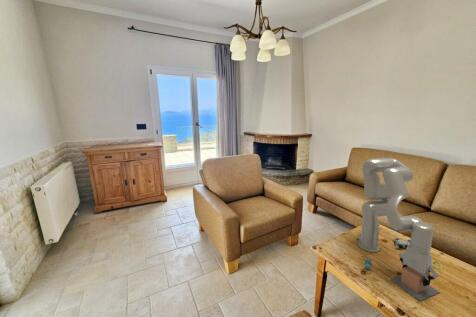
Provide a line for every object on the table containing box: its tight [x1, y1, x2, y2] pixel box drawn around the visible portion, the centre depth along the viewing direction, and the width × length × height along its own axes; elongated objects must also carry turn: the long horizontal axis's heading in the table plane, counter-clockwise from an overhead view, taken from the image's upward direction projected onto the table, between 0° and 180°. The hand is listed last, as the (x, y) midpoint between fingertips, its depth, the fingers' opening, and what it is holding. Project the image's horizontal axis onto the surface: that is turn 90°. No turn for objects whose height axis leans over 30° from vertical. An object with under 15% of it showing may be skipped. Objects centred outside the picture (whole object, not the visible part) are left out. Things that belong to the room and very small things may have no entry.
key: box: [432, 260, 443, 271], centre depth 119 cm, size 7×12×2 cm, turn 61°
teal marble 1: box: [364, 257, 372, 265], centre depth 121 cm, size 3×3×3 cm
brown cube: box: [401, 266, 428, 293], centre depth 103 cm, size 7×7×8 cm
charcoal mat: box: [389, 274, 441, 303], centre depth 104 cm, size 14×14×1 cm
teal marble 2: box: [364, 262, 372, 270], centre depth 116 cm, size 3×3×3 cm
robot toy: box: [392, 237, 410, 249], centre depth 133 cm, size 12×4×15 cm
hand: (414, 278), depth 103 cm, fingers open, 9 cm apart
